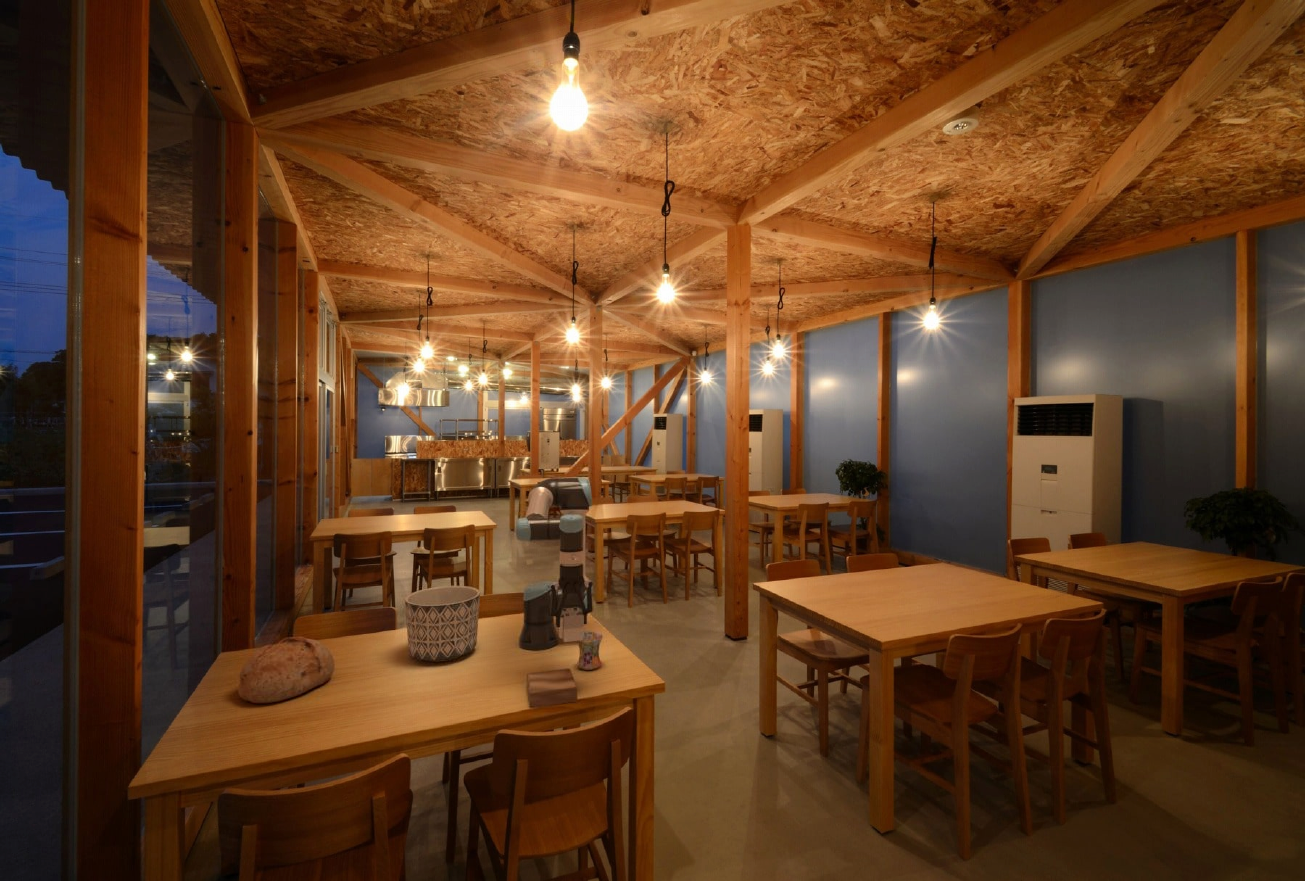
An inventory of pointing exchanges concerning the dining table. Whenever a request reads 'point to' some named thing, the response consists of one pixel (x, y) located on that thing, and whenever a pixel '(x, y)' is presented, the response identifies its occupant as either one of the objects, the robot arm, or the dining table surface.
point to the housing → (572, 624)
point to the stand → (551, 687)
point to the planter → (442, 622)
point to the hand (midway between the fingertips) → (571, 635)
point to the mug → (589, 651)
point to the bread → (285, 670)
